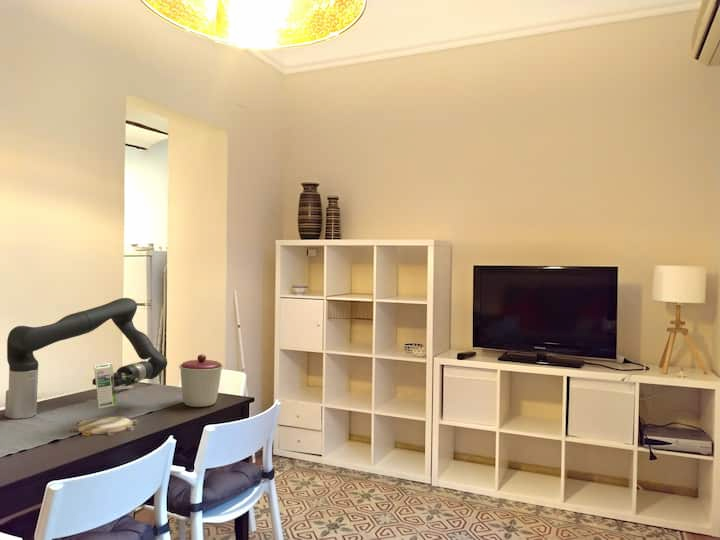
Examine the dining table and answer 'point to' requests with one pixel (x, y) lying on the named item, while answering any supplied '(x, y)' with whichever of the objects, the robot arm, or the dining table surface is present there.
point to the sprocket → (104, 425)
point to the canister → (200, 381)
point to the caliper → (123, 387)
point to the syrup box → (105, 385)
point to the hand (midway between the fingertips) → (104, 383)
